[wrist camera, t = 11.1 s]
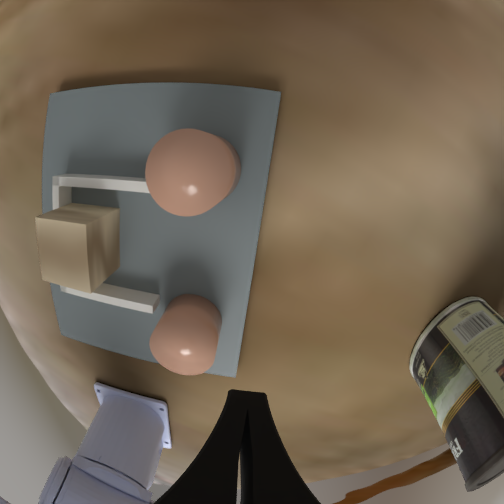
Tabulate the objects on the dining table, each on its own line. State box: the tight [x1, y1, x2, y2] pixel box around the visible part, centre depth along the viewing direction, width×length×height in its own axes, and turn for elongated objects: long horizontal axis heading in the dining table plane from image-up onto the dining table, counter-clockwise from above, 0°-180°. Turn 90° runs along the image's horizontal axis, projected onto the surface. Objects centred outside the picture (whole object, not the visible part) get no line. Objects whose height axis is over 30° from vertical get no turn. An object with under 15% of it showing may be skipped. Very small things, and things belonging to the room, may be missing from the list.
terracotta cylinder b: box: [145, 128, 241, 216], centre depth 14 cm, size 4×4×4 cm
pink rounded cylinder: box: [149, 294, 222, 375], centre depth 17 cm, size 4×4×4 cm
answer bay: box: [52, 174, 160, 314], centre depth 16 cm, size 8×8×2 cm
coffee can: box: [410, 297, 504, 492], centre depth 14 cm, size 10×10×14 cm
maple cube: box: [35, 203, 120, 294], centre depth 15 cm, size 4×4×4 cm
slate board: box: [42, 83, 281, 378], centre depth 17 cm, size 20×16×1 cm
